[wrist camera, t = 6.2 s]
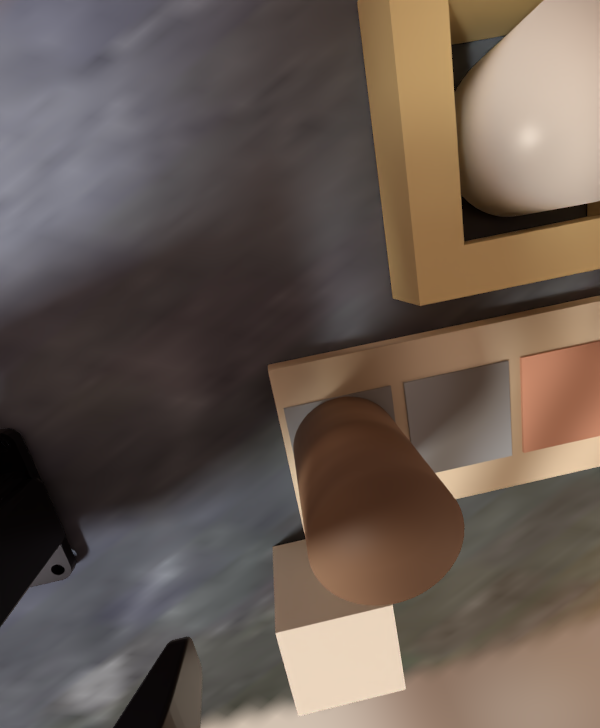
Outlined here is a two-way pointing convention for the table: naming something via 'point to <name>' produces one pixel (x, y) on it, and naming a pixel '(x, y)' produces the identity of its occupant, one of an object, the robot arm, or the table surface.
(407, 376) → the makeup compact
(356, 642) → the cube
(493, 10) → the box
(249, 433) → the table surface
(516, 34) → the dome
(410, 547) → the brown capsule
